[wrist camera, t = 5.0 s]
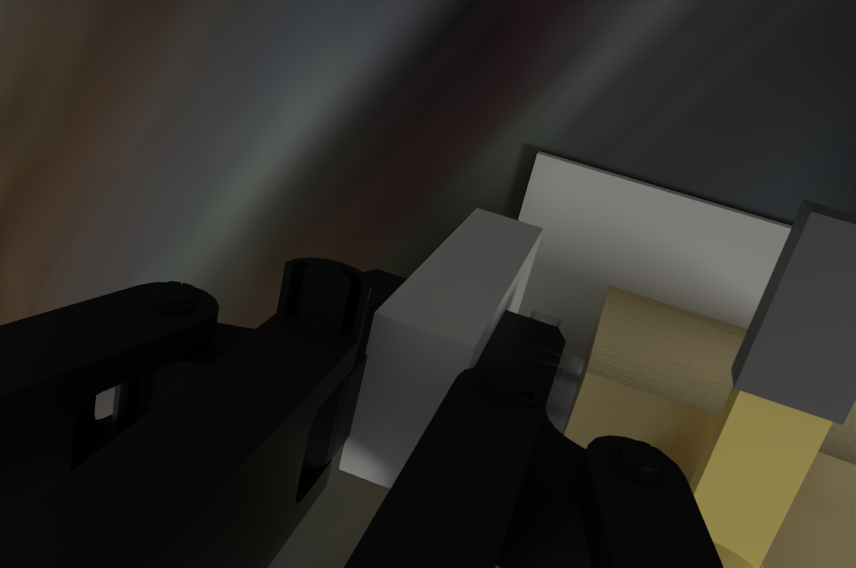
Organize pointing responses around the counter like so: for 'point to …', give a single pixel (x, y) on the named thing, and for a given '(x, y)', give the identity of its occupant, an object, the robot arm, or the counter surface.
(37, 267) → the counter surface
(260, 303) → the counter surface
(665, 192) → the mat
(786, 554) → the valve
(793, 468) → the lever
